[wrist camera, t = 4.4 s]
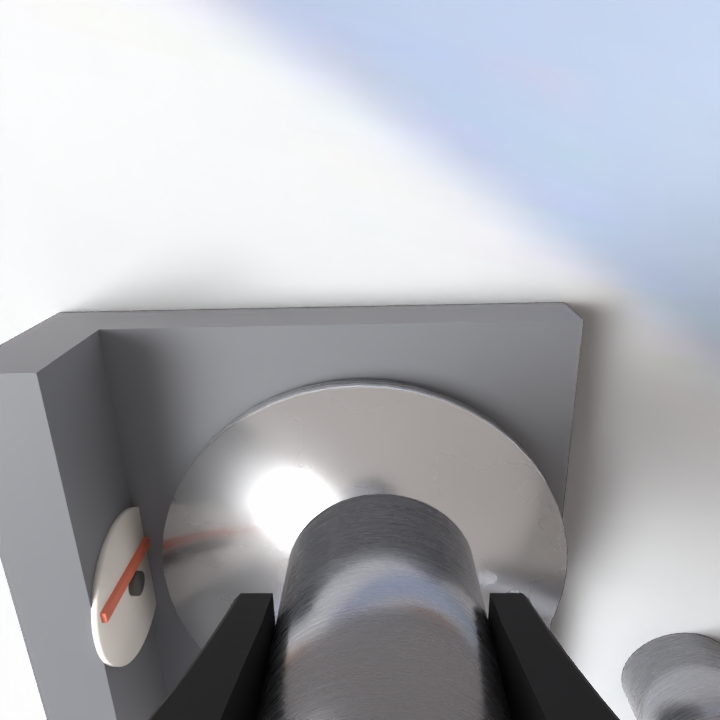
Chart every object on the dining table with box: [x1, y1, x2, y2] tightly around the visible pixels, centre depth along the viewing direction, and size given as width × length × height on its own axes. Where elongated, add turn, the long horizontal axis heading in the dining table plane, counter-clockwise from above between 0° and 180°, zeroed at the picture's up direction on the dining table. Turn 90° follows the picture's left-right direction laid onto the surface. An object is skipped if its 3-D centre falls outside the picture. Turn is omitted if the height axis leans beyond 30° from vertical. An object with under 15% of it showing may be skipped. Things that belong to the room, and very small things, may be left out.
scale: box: [0, 302, 583, 720], centre depth 18 cm, size 15×15×5 cm
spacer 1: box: [256, 494, 511, 720], centre depth 10 cm, size 4×4×5 cm
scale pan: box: [162, 379, 567, 649], centre depth 18 cm, size 12×12×1 cm
